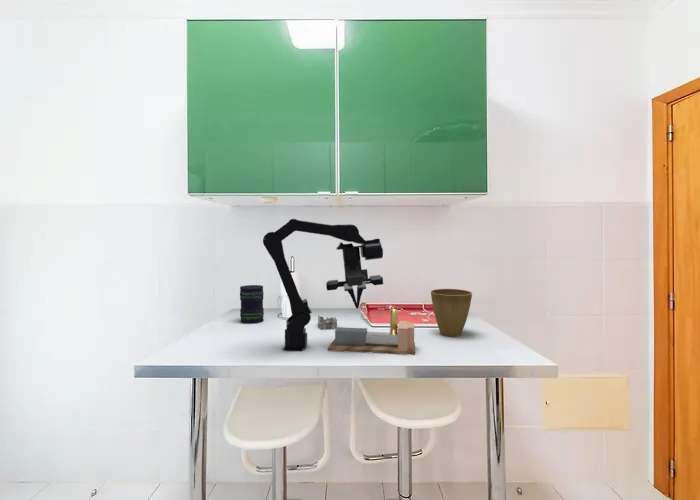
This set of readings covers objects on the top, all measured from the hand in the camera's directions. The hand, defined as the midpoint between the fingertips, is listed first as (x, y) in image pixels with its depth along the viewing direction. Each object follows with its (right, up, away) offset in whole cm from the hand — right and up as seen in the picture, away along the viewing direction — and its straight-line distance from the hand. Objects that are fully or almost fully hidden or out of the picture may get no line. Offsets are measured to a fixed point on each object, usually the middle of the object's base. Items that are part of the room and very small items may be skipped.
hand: (357, 308), depth 134 cm
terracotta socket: (+16, -12, -4) cm, 20 cm away
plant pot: (+35, -12, +15) cm, 40 cm away
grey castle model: (-11, -12, +28) cm, 32 cm away
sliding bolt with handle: (+8, -11, -3) cm, 14 cm away
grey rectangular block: (-2, -12, -1) cm, 12 cm away
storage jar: (-44, -11, +37) cm, 59 cm away
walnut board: (+5, -13, -2) cm, 14 cm away
